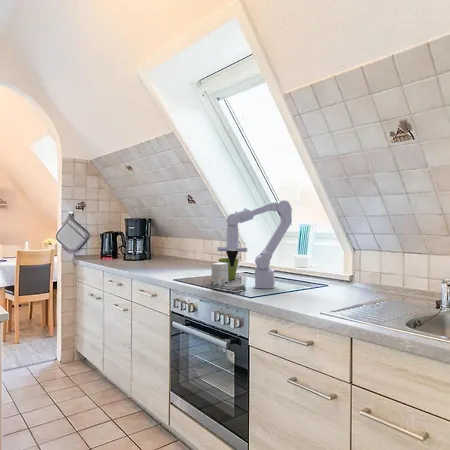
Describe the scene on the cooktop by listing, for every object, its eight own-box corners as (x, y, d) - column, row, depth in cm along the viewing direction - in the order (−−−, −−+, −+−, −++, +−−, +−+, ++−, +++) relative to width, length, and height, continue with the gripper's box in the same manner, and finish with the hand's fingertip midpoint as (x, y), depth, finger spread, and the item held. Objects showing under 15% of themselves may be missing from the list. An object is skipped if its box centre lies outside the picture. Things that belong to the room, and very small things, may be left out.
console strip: (245, 290, 196) (245, 284, 196) (235, 292, 190) (235, 287, 190) (222, 287, 205) (222, 281, 205) (211, 289, 198) (211, 284, 198)
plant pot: (243, 278, 231) (243, 258, 231) (232, 281, 222) (231, 260, 221) (225, 276, 238) (225, 257, 238) (213, 279, 228) (213, 259, 228)
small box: (219, 281, 221) (219, 262, 221) (228, 282, 218) (228, 262, 218) (211, 284, 214) (211, 263, 214) (220, 285, 212) (220, 264, 211)
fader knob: (225, 285, 200) (224, 277, 200) (221, 286, 198) (221, 278, 198) (221, 284, 202) (221, 277, 201) (217, 285, 199) (217, 278, 199)
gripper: (216, 238, 201) (215, 266, 201) (246, 239, 198) (245, 267, 198) (219, 237, 208) (219, 265, 208) (248, 238, 205) (247, 266, 205)
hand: (232, 266), depth 204 cm, fingers closed
